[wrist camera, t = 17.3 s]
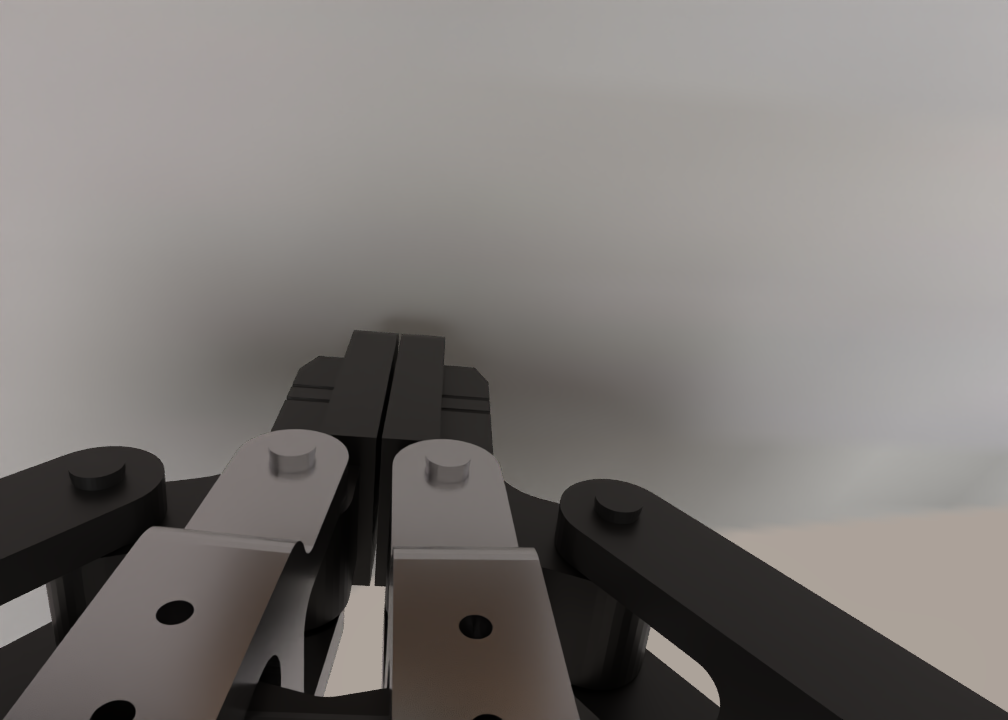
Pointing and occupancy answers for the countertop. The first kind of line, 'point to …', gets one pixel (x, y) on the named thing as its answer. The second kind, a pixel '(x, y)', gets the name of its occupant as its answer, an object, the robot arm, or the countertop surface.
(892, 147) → the countertop surface
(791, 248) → the countertop surface
